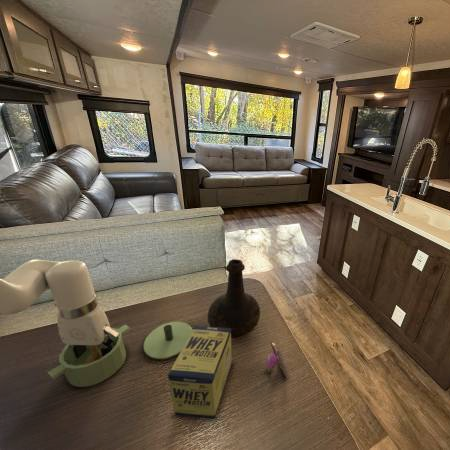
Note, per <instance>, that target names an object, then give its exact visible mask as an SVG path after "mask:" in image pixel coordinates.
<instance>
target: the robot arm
mask: <svg viewBox="0 0 450 450" xmlns="http://www.w3.org/2000/svg"><path fill="white" fill-rule="evenodd" d="M49 290H50V292H51V295H52V298H53V301H54V306H55V307H56V308H57V311H58V312H57V316H56V323H57V330H58V332H57V334H55V336H56V337H57V338H59V339H60V340H61V342H62V343H63V344H65V345H67V344H69V347H70V348H73V351H74V354H75V357H76V358H80V357H81V356H82V355H83V353H84V352H85V351H86V350H87V348H86V345H100V346H101V347H102V348H101V349H100V350H101V354H102V357H103V356H105V355H106V354H108V353H109V352H110V351H111V350H112V349H113V348H112V345H111V343H112V342H113V341H114V340H116V339H117V337H118V336H119V335H120V334H119V333H118V332H116V331H114V330H113V329H111V328H112V327H111V324H110V321H109V318H108V316H107V314H106V313H105V311H104V309H103V308H102V306H101V305H100V304H99V302H98V299H97V296H96V293H95V289H94V286H93V282H92V278H91V275H90V273H89V268H88V266H87V264H86V263H85V262H83V261H81V260H77V259H76V260H73V259H71V260H65V261H55V260H47V259H32V260H28V261H26V262H23V263H22V264H20V265H19V266H18V267H17V268H15V269H14V270H13V271H11V272H9V273H8V274H7V275H6V276H5V277H4V278H0V314H2V315H13V314H18V313H21V312H23V311H25V310H27V309H28V308H30V307H31V306H32V305H33V304H34V303H35V302H37V300H38V299H39V298H40V297H41V296H42V295H43V294H44V293H46V291H49ZM110 327H111V328H110ZM104 338H105V339H106V340H107V341H106V342H104Z"/></svg>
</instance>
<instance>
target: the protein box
mask: <svg viewBox="0 0 450 450" xmlns="http://www.w3.org/2000/svg"><path fill="white" fill-rule="evenodd" d="M232 363H233V361H232V339H231V328H218V327H210V326H207V325H200V324H199V325H198V324H195V325H194V326H193V328H192V332H191V334H190V336H189V338H188V339H187V341H186V343H185V345H184V347H183V348H182V350H181V352H180V353H179V354H178V356H177V358H176V359H175V361H174V363H173V364H172V367H171V368H170V370H169V372H168V374H167V377H168V383H169V389H170V394H171V399H172V405H173V410H174V415H175V416H179V417H189V418H200V419H212V420H214V419H216V417H217V414H218V410H219V407H220V404H221V401H222V398H223V394H224V391H225V388H226V385H227V382H228V378H229V376H230V372H231V369H232Z"/></svg>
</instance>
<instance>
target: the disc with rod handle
mask: <svg viewBox="0 0 450 450" xmlns="http://www.w3.org/2000/svg"><path fill="white" fill-rule="evenodd" d="M89 348H90V351H91V354H92V355H90V356H89V357H88V358H87V360H86V364H89V363H91V362H94V361H96V360H98V359H100V358H102V354H101V351H98V348H97V345H89Z"/></svg>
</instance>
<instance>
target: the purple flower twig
mask: <svg viewBox="0 0 450 450" xmlns="http://www.w3.org/2000/svg"><path fill="white" fill-rule="evenodd" d="M269 344H270V347H271V348H272V351H271V353H270V354H269V355H268V357H267V359H266V366H267V368H268V369H267V373H270V371H271V369H276V365H278V367H279V369H280V372H281V374H282V376H283V377H284V379H287V377H286V374H285V371H284V368H283V365H282V363H281V361H280V359H279V357H280V356H279V354H278V351H277V348H276V343H274V342H272V341H270V342H269Z"/></svg>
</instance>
